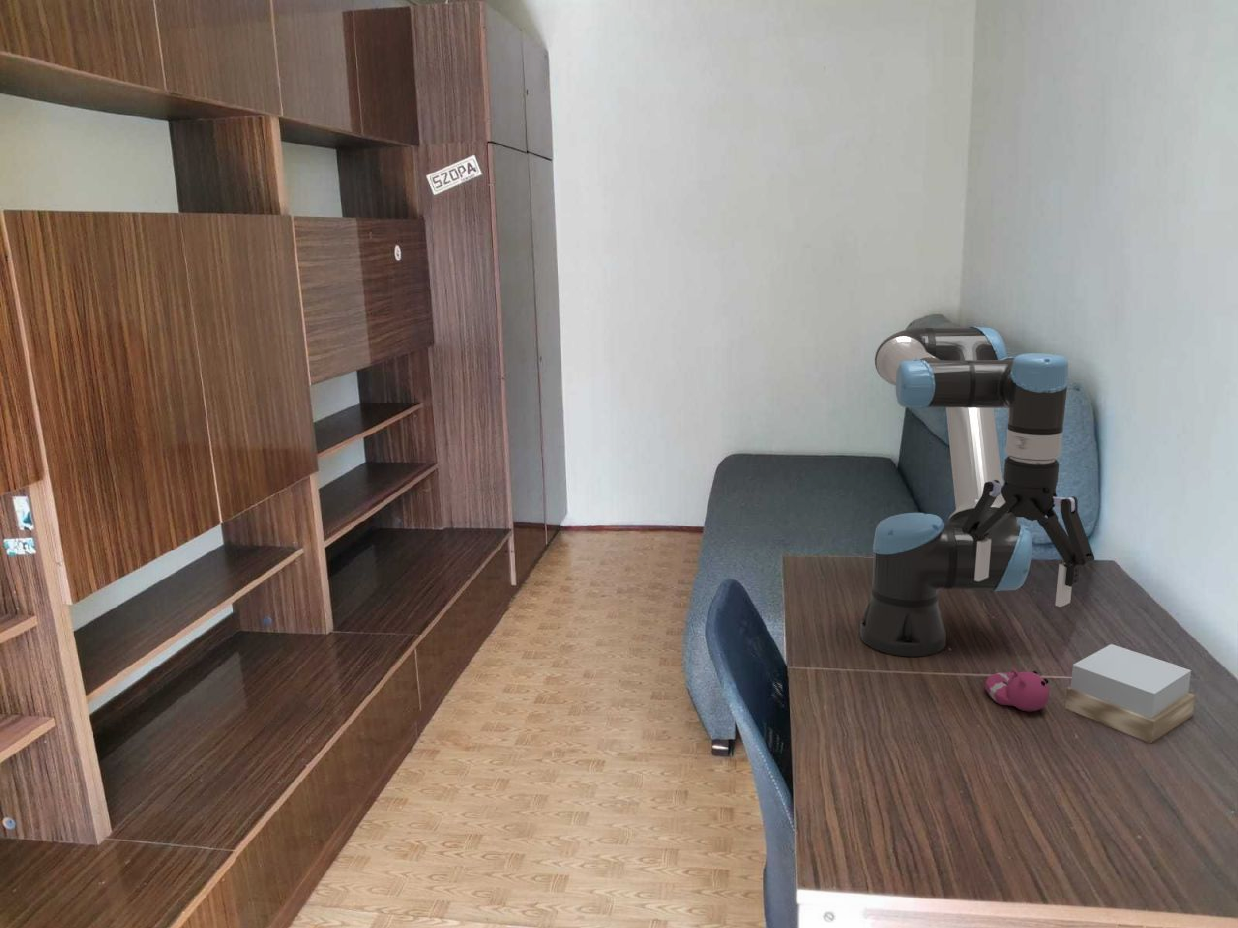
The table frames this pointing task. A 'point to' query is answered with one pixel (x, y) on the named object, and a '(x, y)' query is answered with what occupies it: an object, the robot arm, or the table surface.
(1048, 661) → the table surface
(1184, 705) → the lower slab
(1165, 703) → the upper block
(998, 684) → the toy
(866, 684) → the table surface
